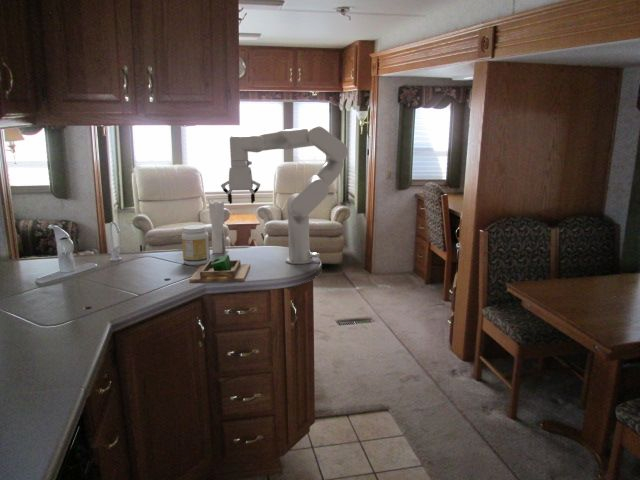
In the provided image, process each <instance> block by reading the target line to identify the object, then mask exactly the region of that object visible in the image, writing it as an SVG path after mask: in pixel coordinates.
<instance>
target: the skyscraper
mask: <svg viewBox="0 0 640 480" xmlns="http://www.w3.org/2000/svg"><path fill="white" fill-rule="evenodd" d="M207 200H208V211H209V219H210V224H211V248H212V250H211V251H212V253H211V255H227V254H228V252H229V250H227V249H226V247H227V245H226V236H225V235H226V234H225V228H224V219H225V203H224V201H223V200H220V199H219V200H214V199H212V198H211V197H208V198H207ZM210 200H211V201H212V202H210Z"/></svg>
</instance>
